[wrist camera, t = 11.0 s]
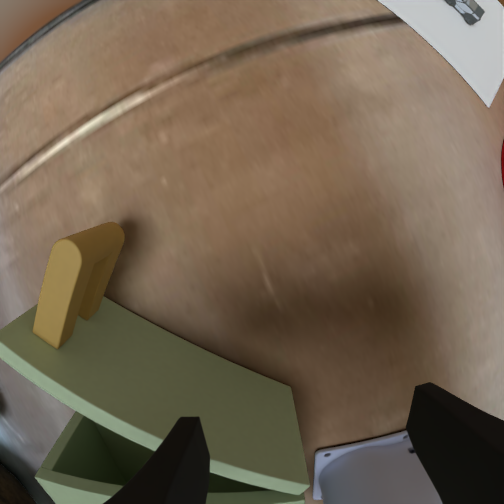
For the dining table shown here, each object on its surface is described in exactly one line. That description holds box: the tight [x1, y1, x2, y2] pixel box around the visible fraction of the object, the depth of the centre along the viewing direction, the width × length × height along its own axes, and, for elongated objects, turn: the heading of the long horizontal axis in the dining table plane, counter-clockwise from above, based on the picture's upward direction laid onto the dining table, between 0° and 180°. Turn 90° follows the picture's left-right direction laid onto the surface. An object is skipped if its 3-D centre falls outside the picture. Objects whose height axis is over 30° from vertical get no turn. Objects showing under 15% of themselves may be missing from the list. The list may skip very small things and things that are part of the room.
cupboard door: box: [0, 222, 310, 495], centre depth 15 cm, size 6×16×9 cm, turn 62°
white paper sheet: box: [378, 0, 504, 108], centre depth 14 cm, size 12×12×2 cm
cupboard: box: [35, 411, 305, 504], centre depth 18 cm, size 12×16×9 cm
